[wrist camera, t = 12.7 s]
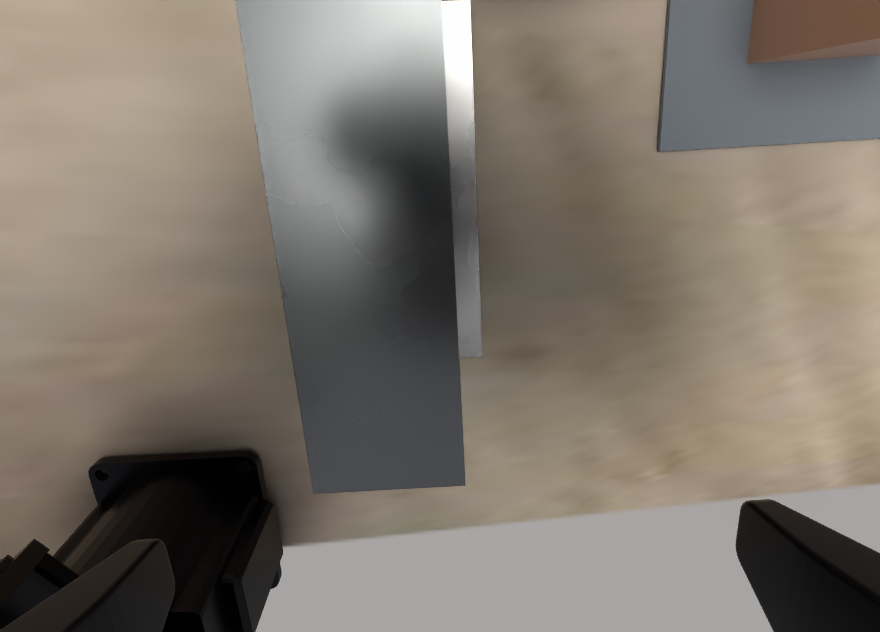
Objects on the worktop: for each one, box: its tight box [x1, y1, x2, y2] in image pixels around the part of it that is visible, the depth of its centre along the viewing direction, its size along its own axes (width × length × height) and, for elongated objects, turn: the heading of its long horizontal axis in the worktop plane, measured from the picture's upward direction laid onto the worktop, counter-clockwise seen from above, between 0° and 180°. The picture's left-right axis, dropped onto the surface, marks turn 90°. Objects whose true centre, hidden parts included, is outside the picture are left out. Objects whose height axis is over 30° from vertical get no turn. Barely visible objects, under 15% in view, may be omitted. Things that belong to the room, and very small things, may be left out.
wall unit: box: [235, 0, 482, 494], centre depth 14 cm, size 5×11×10 cm, turn 3°
